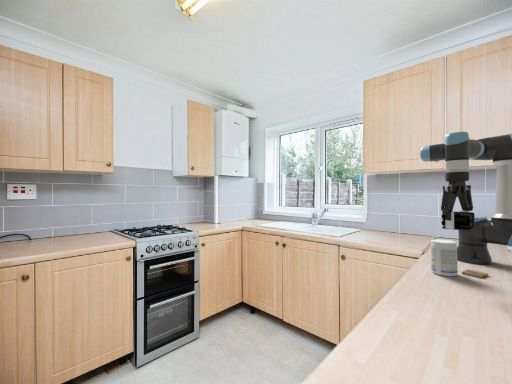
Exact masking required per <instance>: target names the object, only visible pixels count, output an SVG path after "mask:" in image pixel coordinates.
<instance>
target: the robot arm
mask: <svg viewBox="0 0 512 384" xmlns="http://www.w3.org/2000/svg"><path fill="white" fill-rule="evenodd" d="M419 157H420V159H421V160H422V162H426V163H427V162H431V163H432V162H437V161H438V162H440V161H444V163H445V164H444V167H445V173H444V174H445V175H444V181H445V182H448V185H442V198H441V204H440V205H441V206H440V210H441V213H442V212H445V223H446V228H447V229H446V230H453V229H454V212H455V211H453V210H454V207H455V204H456V201H457V199H458V202H459V204H460V207H461V210H460V212H473V209H474V203H473V197H472V192H471V191H472V185H470V184H469V185H468V184H467V185H466V182H468V181H470V172H469V170H470V161H492V164H493V165H495V166H496V176H495V177H496V180H495V182H496V183H495V185H496V186H495V213H494V215H491V218H490V220H489V219H488V217H487V216H475V225H474V228H473V229H472V230H471V231H465V230H457V231H458V245H457V261H459V262H464V263H469V264H475V265H492V262H493V261H492V260H493V259H492V256H491V254H490V252H489V251H490V250H489V249H488V244H492V245H498V246H499V245H500V246H506V247H510V248H511V247H512V133H509V134H504V135H503V134H502V135H496V136H490V137H483V138H479V139H470V137H469V132H467V131H456V132H451V133H447V134H446V135H445V137H444V143H438V144H437V143H436V144H431V145H430V144H429V145H425V146H422V147H421V149H420V152H419Z"/></svg>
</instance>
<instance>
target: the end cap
mask: <svg viewBox="0 0 512 384" xmlns="http://www.w3.org/2000/svg"><path fill="white" fill-rule="evenodd" d="M453 212H454V229H452V230H454V231H455V230H456V231H458V230H465V231H471V230H472V229H473V228H474V225H475V217H476V216H475V213H474V212H473V211H469V212H461V211H453ZM441 213H442V214H441V216H440V217H441V219H442V220H441V221H440V222H441V225H442V226H441V229H444V230H448V229H447V228H446V223H445V212H442V211H441Z"/></svg>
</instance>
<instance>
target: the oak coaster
mask: <svg viewBox="0 0 512 384" xmlns="http://www.w3.org/2000/svg"><path fill="white" fill-rule="evenodd" d="M461 275H464V276H468V277H469V276H470V277H473V278H476V279H477V278H478V279H484V278H487V277H489V273H488V272H484V271H483V272H482V271H478V270H474V269H469V268H468V269H465V270H463V271H461Z"/></svg>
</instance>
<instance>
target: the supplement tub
mask: <svg viewBox="0 0 512 384" xmlns="http://www.w3.org/2000/svg"><path fill="white" fill-rule="evenodd" d="M430 242H431V243H430V261H431V262H430V263H431V264H430V266H431V272H432V273H433V274H435V275H438V276H442V277H443V276H444V277H455V276H457V275H458V273H459V271H458V260H457V247H458V245H457V242H456V241H454V240H449V239H437V238H436V239H431V240H430Z"/></svg>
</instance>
